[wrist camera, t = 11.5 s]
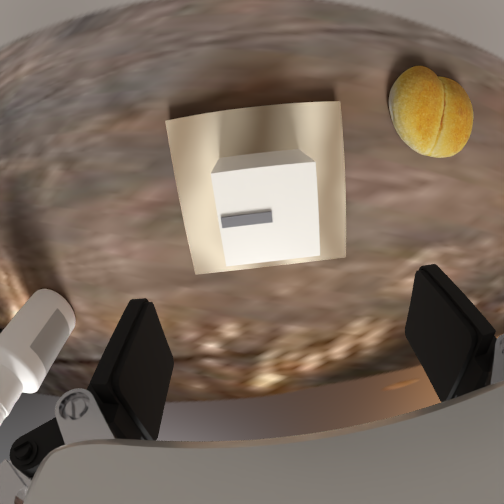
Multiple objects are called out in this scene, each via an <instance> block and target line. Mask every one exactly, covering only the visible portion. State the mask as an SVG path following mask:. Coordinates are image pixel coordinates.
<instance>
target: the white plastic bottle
mask: <svg viewBox="0 0 504 504" xmlns="http://www.w3.org/2000/svg"><path fill="white" fill-rule="evenodd" d="M74 327H75V315H74V311H73V310H72V308H71V306H70V304H69V303H68V302H67V301H66V300H65V298H63V297H62V296H61V295H60V294H58V293H57V292H55V291H53V290H50V289H40V290H37V291H36V292H35V293H34V294H33V295H32V296H31V297H30V298H29V300H28V301H27V302H26V303H25V304H24V305H23V306H22V308H21V309H20V310H19V311H18V312H17V314H16V315H15V316H14V317H13V318H12V320H11V321H10V322H9V323H8V325H7V326H6V327H5V328H4V330H3V331H2V332H1V333H0V426H1V424H2V422H3V420H4V419H5V418H6V416H8V415H9V413H10V411H11V409H12V408H13V406H14V404H15V402H16V401H17V400H18V398H19V396H20V394H21V393H22V392H25V393H34V392H36V391H37V390H38V389H39V387H40V385H41V383H42V381H43V380H44V378H45V376H46V374H47V372H48V371H49V369H50V367H51V365H52V364H53V362H54V360H55V358H56V357H57V355H58V353H59V352H60V350H61V348H62V347H63V345H64V343H65V342H66V340H67V338H68V337H69V335H70V333H71V332H72V330H73V329H74Z"/></svg>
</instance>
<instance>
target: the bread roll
mask: <svg viewBox="0 0 504 504" xmlns="http://www.w3.org/2000/svg"><path fill="white" fill-rule="evenodd" d="M389 111H390V115H391V119H392V122H393V125H394V127H395V129H396V131H397V133H398V135H399V136H400V138H401V139H402V140H403V141H404V142H405V143H406V144H407V145H408V146H410V148H411V149H413V150H415V151H416V152H418V153H420V154H422V155H427V156H431V157H437V158H442V157H449V156H453V155H455V154H456V153H458V152H459V151H461V150H462V148H463V147H464V146H465V144H466V143H467V141H468V138H469V136H470V134H471V130H472V124H473V109H472V104H471V101H470V99H469V97H468V95H467V93H466V92H465V90H464V89H463V88H462V87H461V86H460V85H459V84H458V83H457V82H455V81H454V80H452V79H449V78H446V77H440V76H439V77H438V76H437V75H436V74H435V73H434V72H433V71H432V70H430V69H429V68H427V67H424V66H414V67H412V68H409V69H408V70H406V71H405V72H404V73H402V74H401V75H400V76H399V77H398V79H397V80H396V81H395V83H394V84H393V86H392V88H391V90H390V94H389Z"/></svg>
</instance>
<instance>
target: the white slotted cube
mask: <svg viewBox="0 0 504 504" xmlns="http://www.w3.org/2000/svg"><path fill="white" fill-rule="evenodd" d="M211 180H212V186H213V192H214V198H215V204H216V210H217V216H218V222H219V228H220V233H221V239H222V245H223V251H224V256H225V262H226V267H227V266H236V265H244V264H253V263H262V262H270V261H279V260H287V259H296V258H304V257H313V256H320V235H319V211H318V191H317V175H316V162H315V161H314V160H313V159H311V158H310V157H309V156H307V155H306V154H305V153H304V152H302V151H301V150H300V149H292V150H281V151H272V152H262V153H254V154H245V155H237V156H230V157H223V158H219V159H218V161H217V163H216V165H215V166H214V168H213V170H212V172H211Z"/></svg>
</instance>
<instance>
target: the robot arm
mask: <svg viewBox="0 0 504 504" xmlns="http://www.w3.org/2000/svg"><path fill="white" fill-rule="evenodd" d="M495 332H496V330H495V329H494V328H493V327H492V325H491V324H490V323H489V322H488V321H487V320H486V318H485V317H484V316H483V315H482V314H481V313H480V311H479V310H478V309H477V308H476V307H475V306H474V305H473V303H472V302H471V301H470V300H469V299H468V298H467V297H466V296H465V294H464V293H463V292H462V291H461V290H460V289H459V288H458V287H457V286H456V285H455V284H454V283H453V282H452V281H451V279H450V278H449V277H448V276H447V275H446V274H445V273H444V272H443V271H442V270H441V269H440V268H439V267H438V266H437V265H436V264H431V265H425V266H421V267H420V268H419V271H416V274H415V279H414V285H413V291H412V297H411V302H410V307H409V312H408V317H407V322H406V327H405V335H406V338H407V340H408V341H409V343H410V345H411V347H412V348H413V350H414V352H415V354H416V356H417V357H418V359H419V361H420V363H421V365H422V366H423V368H424V370H425V372H426V374H427V376H428V378H429V380H430V382H431V383H432V385H433V387H434V389H435V391H436V393H437V395H438V397H439V399H440V401H441V403H438V404H435V405H432V406H429V407H426V408H423V409H419V410H416V411H413V412H409V413H406V414H402V415H398V416H395V417H391V418H387V419H383V420H379V421H375V422H370V423H366V424H361V425H356V426H352V427H347V428H341V429H336V430H330V431H324V432H318V433H311V434H304V435H296V436H288V437H279V438H269V439H257V440H241V441H215V442H214V441H210V442H192V441H191V442H189V441H156V440H157V438H158V434H159V429H160V424H161V419H162V415H163V410H164V405H165V401H166V396H167V392H168V388H169V383H170V379H171V375H172V370H173V366H174V360H173V356H172V353H171V351H170V348H169V346H168V343H167V340H166V338H165V335H164V332H163V329H162V327H161V324H160V321H159V318H158V315H157V313H156V310H155V307H154V304H153V303H152V302H149V301H148V300H147V299H146V298H144V299H132V300H130V301H129V303H128V305H127V307H126V309H125V311H124V313H123V315H122V317H121V319H120V321H119V323H118V325H117V327H116V329H115V331H114V333H113V335H112V337H111V339H110V341H109V343H108V345H107V347H106V349H105V351H104V353H103V355H102V357H101V360H100V362H99V364H98V366H97V368H96V370H95V373H94V375H93V377H92V379H91V381H90V384H89V386H88V389H87V390H86V389H73V390H70V391H68V392H67V393H65V394H63V395H62V396H61V398H60V399H59V400H58V402H57V404H56V406H55V416H56V417H55V418H53V419H52V420H50V421H48V422H46V423H45V424H43V425H41V426H39V427H38V428H36V429H34V430H32V431H30V432H29V433H27V434H25V435H23V436H21V437H20V438H19V439H17V440H16V441H15V442H14V443H13V445H12V447H11V450H10V460H9V461H7V460H6V459H5V460H4V461H3V462H2V463H1V464H0V504H504V334H503V335H501V336H499V337H498V338H496V337H495V336H494V335H495Z"/></svg>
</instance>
